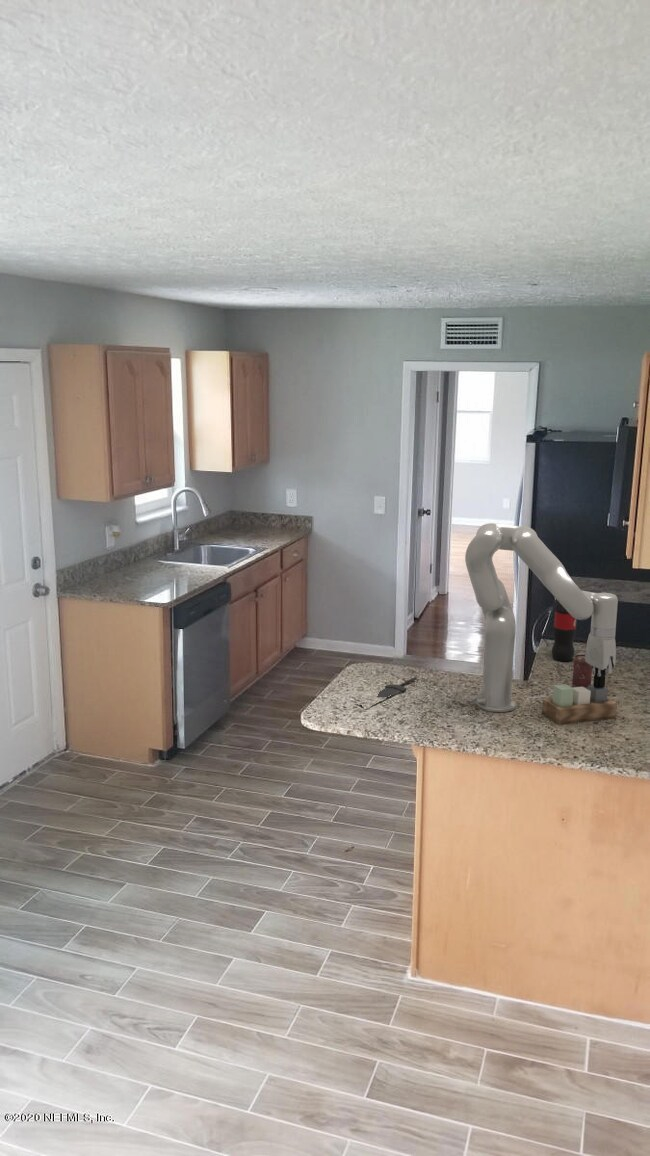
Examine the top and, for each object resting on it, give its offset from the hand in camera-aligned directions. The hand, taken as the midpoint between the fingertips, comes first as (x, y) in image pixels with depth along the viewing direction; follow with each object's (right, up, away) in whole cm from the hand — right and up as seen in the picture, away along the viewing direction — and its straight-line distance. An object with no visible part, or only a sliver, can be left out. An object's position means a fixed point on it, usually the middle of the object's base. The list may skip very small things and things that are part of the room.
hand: (598, 686), depth 283 cm
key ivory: (-7, -7, 0) cm, 10 cm away
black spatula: (-66, -5, +18) cm, 69 cm away
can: (0, -6, +19) cm, 19 cm away
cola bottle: (+4, +3, +59) cm, 60 cm away
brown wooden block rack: (-7, -9, 0) cm, 11 cm away
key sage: (-13, -6, -3) cm, 14 cm away
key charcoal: (0, -7, +2) cm, 7 cm away
